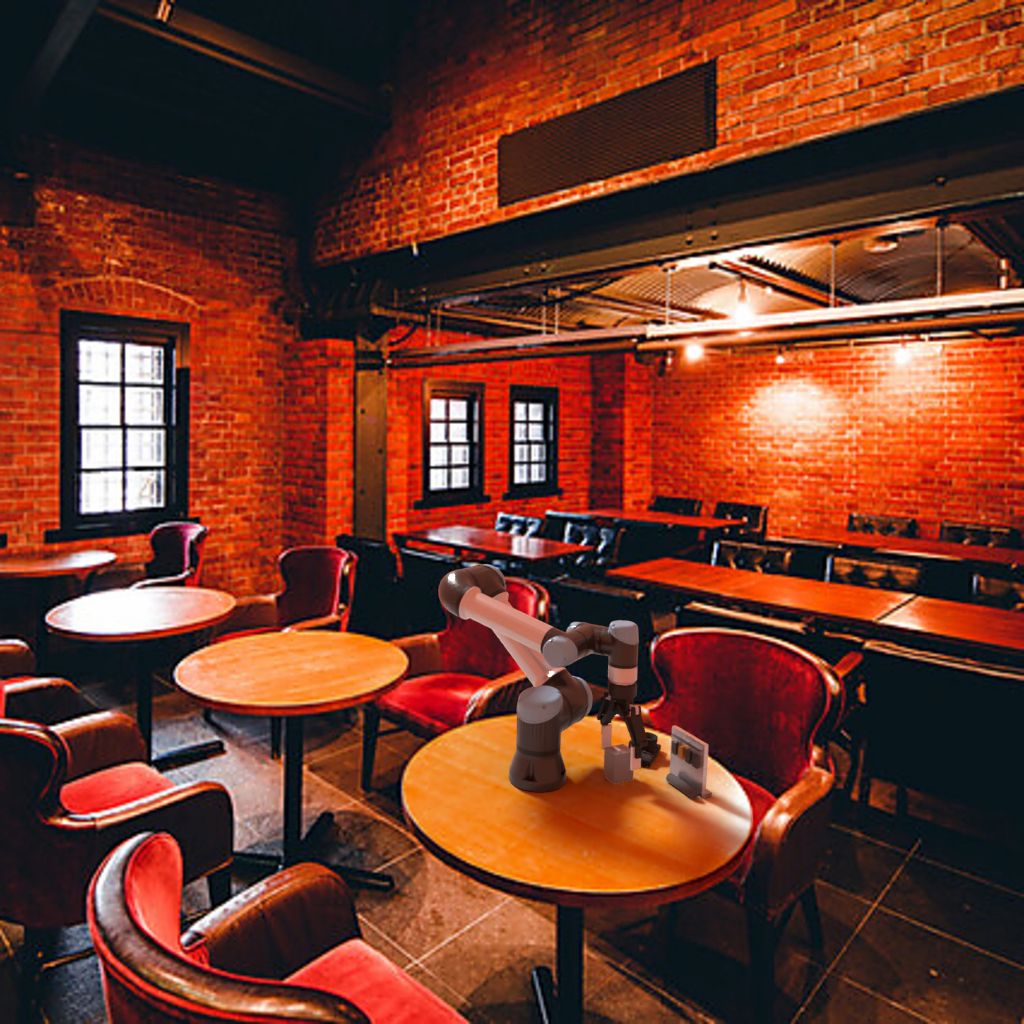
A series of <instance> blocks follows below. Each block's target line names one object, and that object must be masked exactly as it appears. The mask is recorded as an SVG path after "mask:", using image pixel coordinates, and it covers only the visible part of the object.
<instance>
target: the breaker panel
mask: <svg viewBox="0 0 1024 1024" xmlns="http://www.w3.org/2000/svg"><path fill="white" fill-rule="evenodd" d="M708 760H709V744H708V743H706V742H705V741H703V740H701V739H699V738H698V737H696V736H695V735H693V734H691V733H690V732H688V731H686V730H685V729H684V728H681V727H680V726H677V725H672V726H671V742H670V759H669V763H670V764H669V773H672V774H674V775H675V776H677V777H678V778H680V779H681V780H683V781H684V782H686V783H687V784H688V785H690V786H691V787H693V788H694V789H696V790H697V791H698V797H699V798H700V799H705V798H709V797H712V796H713V792H712V791H710V790H709V789H707V780H708V779H707V777H708V762H709V761H708Z"/></svg>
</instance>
